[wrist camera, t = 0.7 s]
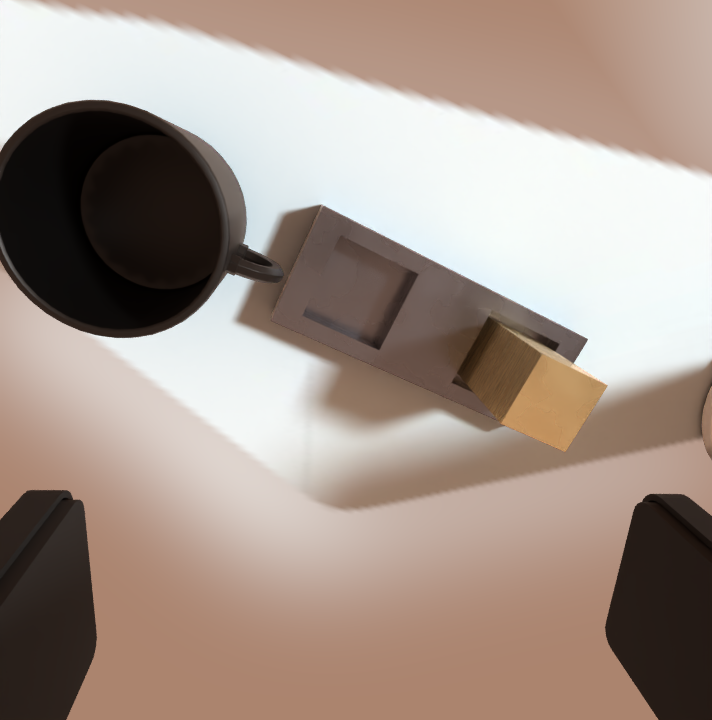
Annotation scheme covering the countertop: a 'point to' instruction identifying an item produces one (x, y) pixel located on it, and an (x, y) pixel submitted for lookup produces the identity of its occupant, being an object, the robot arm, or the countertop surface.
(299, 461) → the countertop surface
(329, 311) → the grey slotted board
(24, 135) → the mug
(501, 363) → the wooden block
